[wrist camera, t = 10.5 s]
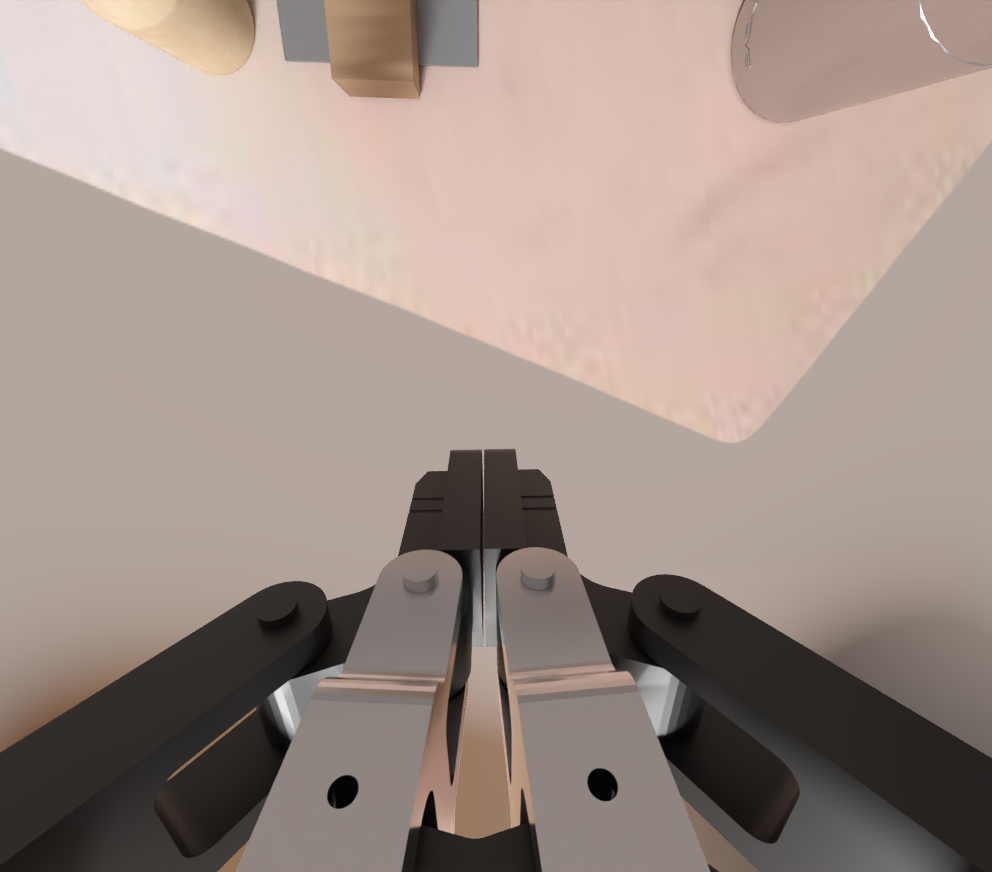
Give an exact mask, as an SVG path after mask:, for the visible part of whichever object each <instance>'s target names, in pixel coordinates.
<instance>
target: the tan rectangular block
mask: <svg viewBox="0 0 992 872" xmlns="http://www.w3.org/2000/svg"><path fill="white" fill-rule="evenodd" d="M324 5H325V15H326V25H327V35H328V44H329V54H330V64H331V74H332V79H333V80H334V81H335V82H336V83H337V84H338V85H339V86H340V87H341V88H342V89H343V90H344V91H345V92H346V93H347V94H348V95H349V96H356V97H382V98H408V99H420V85H419V58H418V32H417V6H416V0H324Z"/></svg>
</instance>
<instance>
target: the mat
mask: <svg viewBox="0 0 992 872" xmlns="http://www.w3.org/2000/svg"><path fill="white" fill-rule="evenodd" d="M416 6H417V32H418V58H419V66H451V67H478V20H477V0H416ZM277 7H278V14H279V21H280V28H281V35H282V42H283V49H284V56H285V60H286V61H293V62H324V63H330V54H329V44H328V35H327V25H326V15H325V5H324V0H277Z"/></svg>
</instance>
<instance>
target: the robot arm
mask: <svg viewBox="0 0 992 872" xmlns="http://www.w3.org/2000/svg"><path fill="white" fill-rule="evenodd" d="M731 61H732V73H733V77H734V80H735V84H736V88H737V90H738V92H739V93H740V95H741V97H742V99H743V101H744V102H745V103H746V104H747V106H748V107H749V108H750V109H751V110H752V111H753V112H754V113H756V114H758V115H759V116H761V117H762V118H764V119H767V120H771V121H774V122H794V121H798V120H802V119H806V118H810V117H814V116H817V115H821V114H825V113H828V112H832V111H837V110H840V109H844V108H847V107H851V106H855V105H858V104H862V103H865V102H869V101H873V100H876V99H880V98H884V97H887V96H891V95H894V94H898V93H902V92H905V91H909V90H913V89H916V88H920V87H923V86H927V85H931V84H934V83H938V82H942V81H945V80H949V79H952V78H956V77H960V76H963V75H967V74H971V73H974V72H978V71H981V70H985V69H989V68H992V0H745V1H744V4H743V6H742V8H741V11H740V13H739V15H738V18H737V22H736V26H735V30H734V34H733V39H732V50H731ZM484 453H485V455H484V510H483V476H482V475H483V473H482V450H451V451H450V458H449V465H448V471H431V472H427V473H426V474H425V475H424V476H423V477H422V478H421V479H420V480H419V481H418V482H417V483H416V485H415V490H414V494H413V498H412V502H411V506H410V511H409V514H408V518H407V522H406V526H405V530H404V534H403V539H402V543H401V547H400V551H399V555H398V557H396V558H395V559H394V560H392V561H390V562H389V563H388V564H387V565H386V566H385V567H384V568H383V570H382V571H381V573H380V575H379V578H378V580H377V583H376V584H375V585H374V586H372V587H370V588H368V589H366V590H363V591H361V592H358V593H354V594H350V595H347V596H343V597H339V598H336V599H332V600H328V601H327V599H326V596H325V594H324V592H323V591H322V590H321V589H320V588H319V587H317V586H316V585H314V584H311V583H308V582H302V581H292V582H284V583H280V584H276V585H273V586H270V587H268V588H265V589H263V590H261V591H260V592H258V593H256V594H254V595H252V596H251V597H249V598H248V599H246V600H244V601H243V602H241V603H240V604H238V605H237V606H235V607H233V608H232V609H230V610H229V611H227V612H225V613H224V614H222V615H220V616H219V617H217V618H216V619H214V620H212V621H211V622H209V623H208V624H206V625H204V626H203V627H201V628H200V629H198V630H196V631H195V632H193V633H192V634H190V635H188V636H187V637H185V638H183V639H182V640H180V641H179V642H177V643H175V644H174V645H172V646H171V647H169V648H167V649H166V650H164V651H163V652H161V653H159V654H158V655H156V656H155V657H153V658H151V659H150V660H148V661H147V662H145V663H143V664H142V665H140V666H139V667H137V668H135V669H134V670H132V671H131V672H129V673H127V674H126V675H124V676H122V677H121V678H119V679H118V680H116V681H114V682H113V683H111V684H110V685H108V686H106V687H105V688H103V689H102V690H100V691H99V692H97V693H95V694H94V695H92V696H90V697H89V698H87V699H86V700H84V701H82V702H81V703H79V704H78V705H76V706H75V707H73V708H71V709H70V710H68V711H66V712H65V713H63V714H62V715H60V716H58V717H57V718H55V719H53V720H52V721H50V722H49V723H47V724H46V725H44V726H42V727H41V728H39V729H37V730H36V731H34V732H33V733H31V734H29V735H28V736H26V737H25V738H23V739H21V740H20V741H18V742H17V743H15V744H14V745H12V746H10V747H9V748H7V749H6V750H4V751H2V752H1V753H0V872H217V871H218V870H219V869H220V868H221V867H222V866H223V865H224V864H225V863H226V862H227V861H228V860H229V859H230V858H231V857H232V856H233V855H234V854H235V853H236V852H237V851H238V850H239V849H240V848H241V847H242V846H243V845H244V844H245V843H246V842H247V841H248V840H249V841H248V844H247V846H246V848H245V851H244V853H243V856H242V858H241V860H240V862H239V865H238V867H237V869H236V872H719V871H717V870H716V869H715V868H713V867H712V866H711V865H709V864H708V863H707V862H706V859H705V857H704V854H703V852H702V849H701V847H700V844H699V841H698V839H697V836H696V834H695V831H694V829H693V826H692V824H691V821H690V819H689V816H688V814H687V811H686V808H685V806H684V803H683V801H682V798H681V796H682V797H683V798H684V799H685V800H686V801H687V802H688V803H689V804H690V805H691V806H692V807H693V808H694V809H695V810H696V811H697V812H698V813H699V814H700V815H701V816H702V817H703V818H705V820H706V821H708V822H709V823H710V824H711V825H712V826H713V827H714V828H715V829H716V830H717V831H718V832H719V833H720V834H721V835H722V836H723V837H724V838H725V839H726V840H727V841H728V842H729V843H731V844H732V846H734V847H735V848H736V849H737V850H738V851H739V852H740V853H741V854H742V855H743V856H744V857H745V858H746V859H747V860H748V861H749V862H750V863H751V864H752V865H753V866H754V867H755V868H756V869H757V870H759V871H760V872H992V758H990V757H988V756H987V755H985V754H984V753H982V752H980V751H979V750H977V749H975V748H974V747H972V746H970V745H969V744H967V743H965V742H964V741H962V740H960V739H959V738H957V737H955V736H953V735H952V734H950V733H949V732H947V731H945V730H944V729H942V728H940V727H938V726H937V725H935V724H933V723H932V722H930V721H928V720H927V719H925V718H923V717H922V716H920V715H918V714H917V713H915V712H913V711H912V710H910V709H908V708H907V707H905V706H903V705H902V704H900V703H898V702H897V701H895V700H893V699H892V698H890V697H888V696H887V695H885V694H883V693H882V692H880V691H878V690H877V689H875V688H873V687H872V686H870V685H868V684H867V683H865V682H863V681H862V680H860V679H858V678H857V677H855V676H853V675H852V674H850V673H848V672H847V671H845V670H843V669H841V668H840V667H838V666H836V665H835V664H833V663H831V662H830V661H828V660H826V659H825V658H823V657H822V656H820V655H818V654H817V653H815V652H813V651H812V650H810V649H808V648H807V647H804V646H803V645H802V644H800V643H798V642H796V641H795V640H793V639H791V638H790V637H788V636H786V635H785V634H783V633H781V632H780V631H778V630H776V629H775V628H773V627H771V626H770V625H768V624H766V623H765V622H763V621H761V620H759V619H758V618H756V617H755V616H753V615H751V614H750V613H748V612H746V611H745V610H743V609H741V608H740V607H738V606H736V605H735V604H733V603H731V602H730V601H728V600H726V599H725V598H723V597H721V596H720V595H718V594H716V593H714V592H713V591H711V590H710V589H708V588H706V587H705V586H703V585H701V584H699V583H697V582H695V581H693V580H690V579H688V578H684V577H681V576H676V575H665V574H664V575H655V576H650V577H648V578H645V579H643V580H642V581H641V582H639V583H638V584H637V585H636V586H635V588H634V590H633V593H631V592H627V591H622V590H618V589H613V588H609V587H606V586H602V585H599V584H597V583H594V582H592V581H590V580H588V579H587V578H585V577H584V576H582V575H581V574H580V573H579V571H578V568H577V566H576V565H575V564H574V563H573V561H571V560H570V559H569V558H568V556H567V552H566V547H565V543H564V539H563V535H562V530H561V526H560V522H559V517H558V513H557V510H556V504H555V500H554V498H553V497H554V495H553V491H552V486H551V482H550V481H549V479H547V477H545V476H544V474H543V473H542V472H541V471H540V470H538V469H534V470H533V469H531V470H518V468H517V461H516V460H517V459H516V451H515V449H486V450H484ZM483 566H484V568H483ZM484 570H485V606H486V638H487V639H486V641H487V647H489V646H497V666H498V695H499V704H500V713H501V723H502V732H503V741H504V751H505V761H506V769H507V779H508V788H509V799H510V812H511V828H510V829H508V830H505V831H502V832H499V833H496V834H493V835H491V836H487V837H484V838H480V839H470V838H465V837H462V836H458V835H455V834H454V823H455V822H454V821H455V801H456V791H457V782H458V773H459V765H460V756H461V748H462V739H463V730H464V721H465V713H466V705H467V696H468V678H469V675H470V671H471V653H472V647H483V572H484ZM255 707H256V711H255V712H253V713H252V714H251V715H250V716H248V717H247V718H246V719H245V720H243V721H242V722H241V723H240V724H238V725H237V726H236V727H235V728H234V729H232V730H231V731H230V732H229V733H228V734H226V735H225V736H224V737H222V738H221V739H220V740H219V741H217V742H216V743H215V744H214V745H212V746H211V747H210V748H209V749H207V750H206V751H205V752H204V753H202V754H201V755H200V756H199V757H197V758H196V759H195V760H194V761H193V762H191V763H190V764H189V765H188V766H186V767H185V768H184V769H183V770H181V771H180V772H179V773H178V774H176V775H175V776H174V777H173V778H171V779H170V780H168V781H167V779H168V778H169V777H170V776H171V775H172V774H173V773H174V772H175V771H176V770H177V769H179V768H180V767H181V766H182V765H184V764H185V763H186V762H187V761H189V760H190V759H191V758H192V757H194V756H195V755H196V754H197V753H199V752H200V751H201V750H202V749H204V748H205V747H206V746H207V745H209V744H210V743H211V742H212V741H213V740H215V739H216V738H217V737H219V735H221V734H222V733H224V732H225V731H226V730H227V729H229V728H230V727H231V726H232V725H234V724H235V723H236V722H237V721H238V720H240V719H241V718H242V717H244V716H245V715H246V714H247V713H249V712H250V711H251V710H252V709H253V708H255Z"/></svg>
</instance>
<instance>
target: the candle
mask: <svg viewBox="0 0 992 872" xmlns="http://www.w3.org/2000/svg"><path fill="white" fill-rule="evenodd" d="M80 1H81V2H82V3H83V4H84V5H85V6H86V7H87V8H88V9H89V10H91V11H92V12H93V13H94V14H96V15H97V16H99V17H100V18H102V19H103V20H105V21H107V22H109V23H110V24H112V25H114V26H116V27H118V28H120V29H122V30H124V31H125V32H127V33H129V34H131V35H133V36H135V37H137V38H139V39H140V40H142V41H144V42H146V43H148V44H150V45H152V46H154V47H155V48H157V49H159V50H161V51H163V52H165V53H167V54H169V55H170V56H172V57H174V58H176V59H178V60H180V61H182V62H183V63H185V64H187V65H189V66H191V67H193V68H195V69H197V70H199V71H202V72H205V73H209V74H214V75H225V74H229V73H232V72H234V71H236V70H238V69H239V68H241V67H242V66H243V65H244V64H245V62H246V61H247V59H248V58H249V56H250V54H251V51H252V48H253V44H254V35H255V32H254V21H253V17H252V13H251V10H250V7H249V4H248V2H247V0H80Z"/></svg>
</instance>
